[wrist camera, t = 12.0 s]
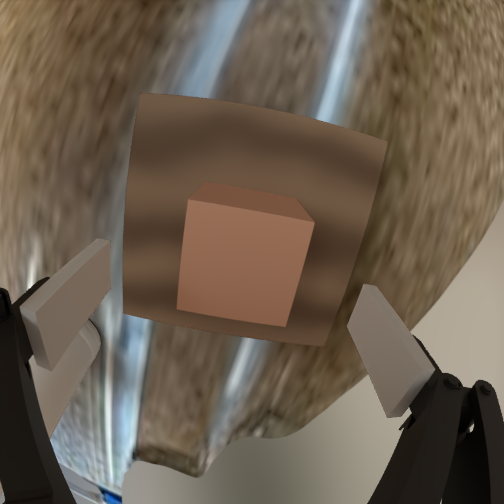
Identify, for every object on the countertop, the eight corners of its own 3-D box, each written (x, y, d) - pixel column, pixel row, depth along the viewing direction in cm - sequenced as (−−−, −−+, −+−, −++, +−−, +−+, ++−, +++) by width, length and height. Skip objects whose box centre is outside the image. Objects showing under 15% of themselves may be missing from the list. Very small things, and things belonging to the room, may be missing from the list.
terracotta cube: (206, 181, 22) (188, 199, 15) (295, 198, 23) (314, 222, 16) (194, 264, 24) (176, 309, 18) (276, 278, 25) (285, 327, 18)
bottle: (47, 309, 33) (-70, 466, 5) (87, 305, 33) (-38, 499, 5) (70, 354, 36) (-16, 511, 8) (110, 354, 36) (28, 541, 8)
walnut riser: (161, 101, 25) (140, 92, 19) (361, 140, 26) (387, 141, 21) (141, 285, 32) (123, 313, 26) (313, 314, 33) (323, 346, 28)
